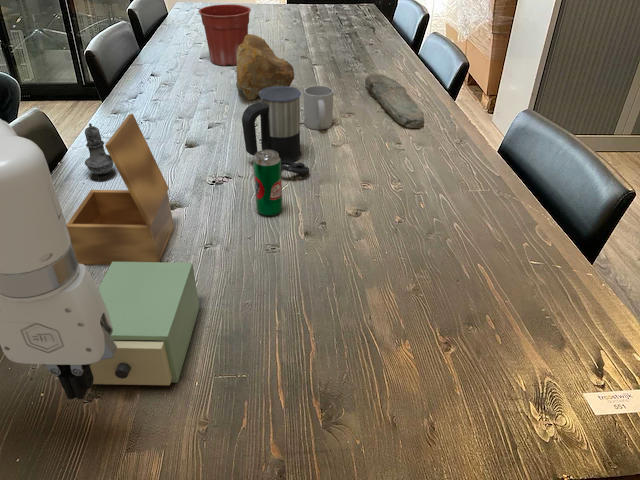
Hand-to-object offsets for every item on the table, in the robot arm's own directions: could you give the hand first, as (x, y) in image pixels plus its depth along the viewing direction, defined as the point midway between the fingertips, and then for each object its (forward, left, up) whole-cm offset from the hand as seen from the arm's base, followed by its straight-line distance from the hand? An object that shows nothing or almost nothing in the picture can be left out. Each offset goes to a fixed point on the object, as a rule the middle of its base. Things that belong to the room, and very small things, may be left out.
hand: (80, 389), depth 62 cm
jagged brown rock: (+10, +112, -6) cm, 113 cm away
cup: (+26, +88, -6) cm, 92 cm away
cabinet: (+3, +13, -6) cm, 15 cm away
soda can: (+17, +48, -6) cm, 52 cm away
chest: (-7, +36, -6) cm, 38 cm away
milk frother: (+19, +68, -6) cm, 71 cm away
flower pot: (-5, +141, -6) cm, 142 cm away
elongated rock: (+46, +104, -6) cm, 114 cm away
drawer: (+3, +11, -5) cm, 13 cm away
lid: (-2, +36, +9) cm, 38 cm away
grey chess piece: (-20, +61, -6) cm, 65 cm away
